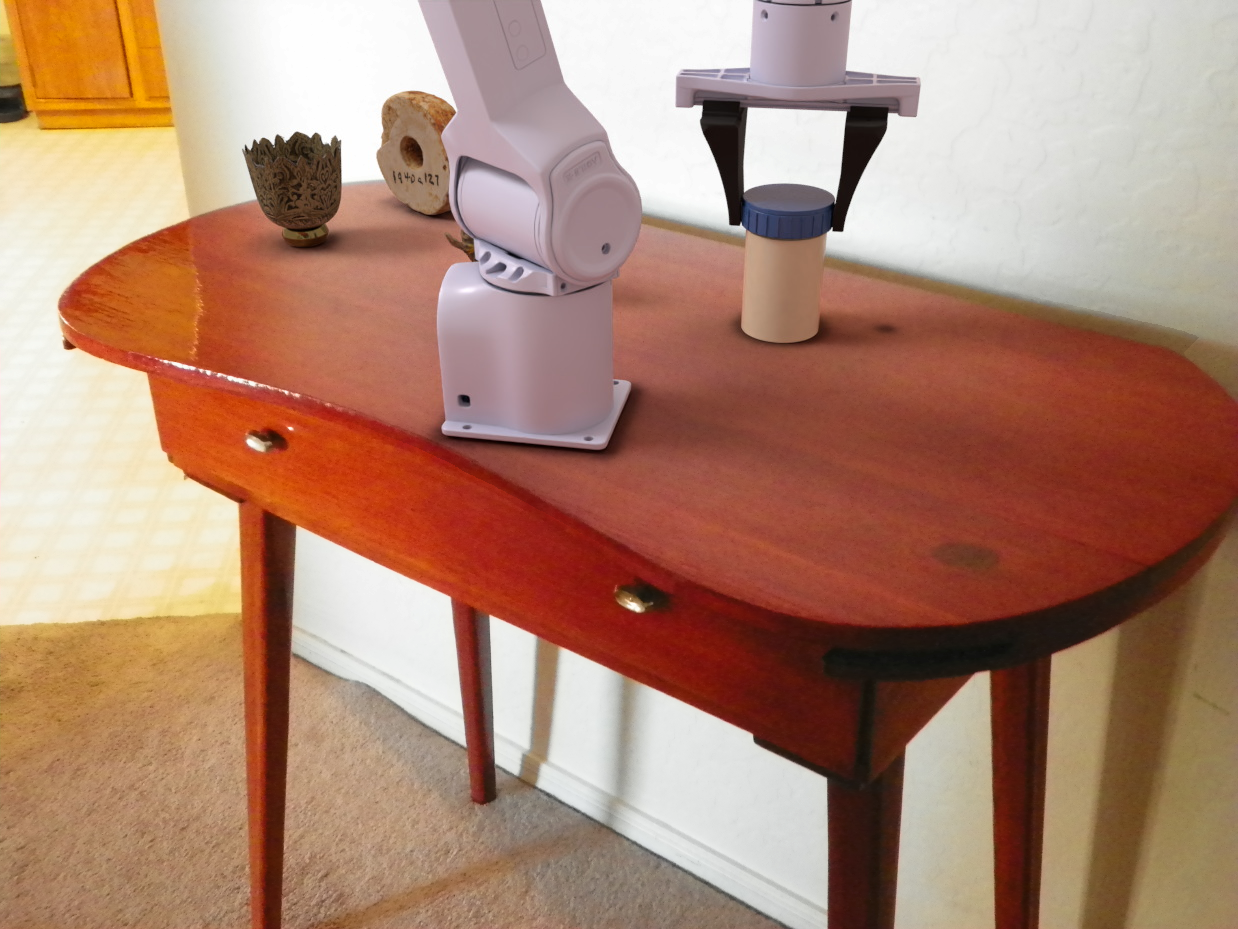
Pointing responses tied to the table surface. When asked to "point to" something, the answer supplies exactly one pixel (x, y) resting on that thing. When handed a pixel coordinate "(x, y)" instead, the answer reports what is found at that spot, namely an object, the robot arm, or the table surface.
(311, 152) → the cup
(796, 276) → the jar
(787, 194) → the lid
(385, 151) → the stone disc
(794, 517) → the table surface
